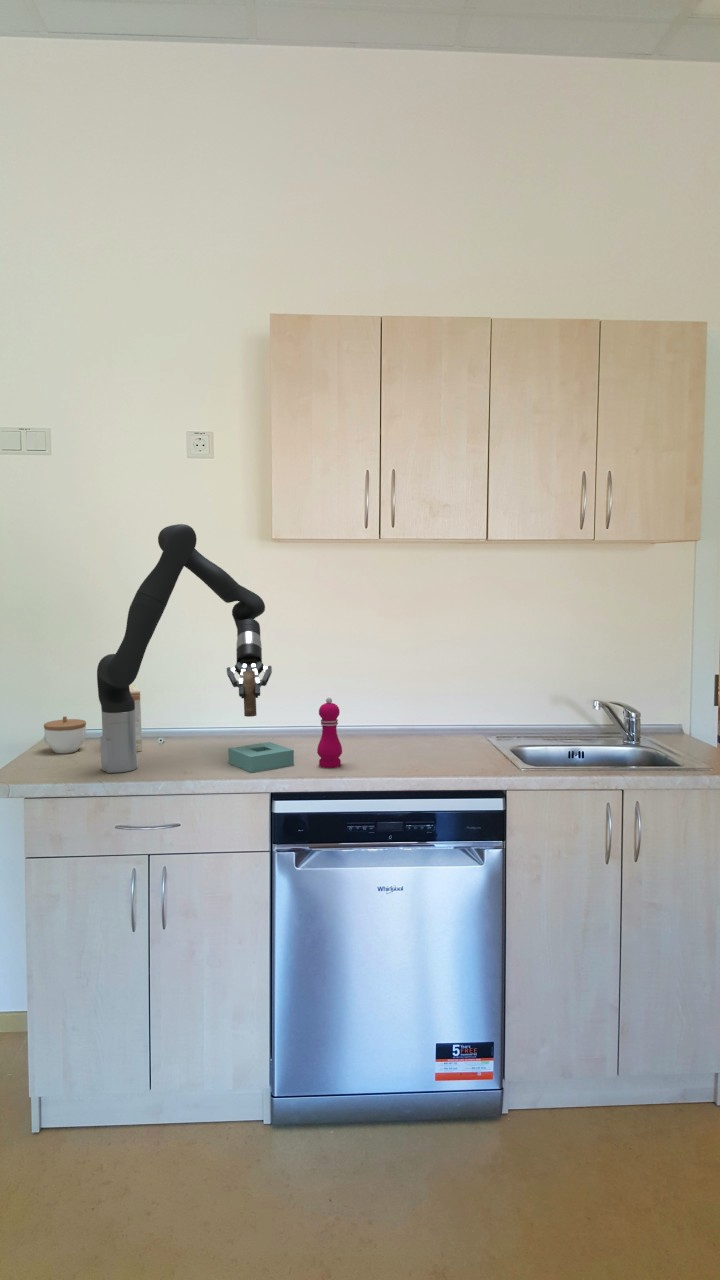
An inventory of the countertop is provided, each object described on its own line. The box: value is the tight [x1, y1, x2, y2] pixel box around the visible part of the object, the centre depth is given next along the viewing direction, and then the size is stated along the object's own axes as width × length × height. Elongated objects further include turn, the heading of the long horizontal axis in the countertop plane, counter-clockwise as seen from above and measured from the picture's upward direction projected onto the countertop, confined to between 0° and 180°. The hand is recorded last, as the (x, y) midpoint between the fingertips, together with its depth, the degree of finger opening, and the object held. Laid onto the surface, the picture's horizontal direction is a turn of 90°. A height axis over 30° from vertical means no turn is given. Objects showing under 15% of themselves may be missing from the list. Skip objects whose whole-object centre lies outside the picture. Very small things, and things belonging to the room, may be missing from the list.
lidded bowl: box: [43, 716, 87, 754], centre depth 258 cm, size 13×13×11 cm
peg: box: [243, 671, 257, 718], centre depth 237 cm, size 4×4×13 cm
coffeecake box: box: [129, 684, 143, 753], centre depth 261 cm, size 15×7×20 cm, turn 21°
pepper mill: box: [316, 697, 343, 769], centre depth 235 cm, size 7×7×20 cm
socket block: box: [228, 741, 295, 773], centre depth 238 cm, size 14×14×4 cm
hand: (249, 696), depth 235 cm, fingers closed on peg, 3 cm apart
